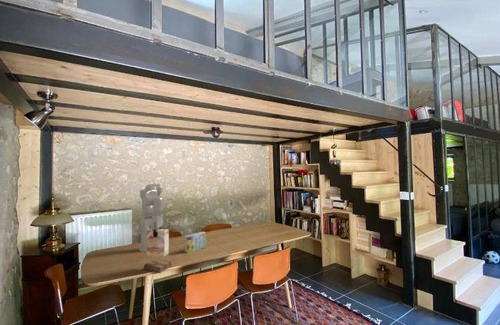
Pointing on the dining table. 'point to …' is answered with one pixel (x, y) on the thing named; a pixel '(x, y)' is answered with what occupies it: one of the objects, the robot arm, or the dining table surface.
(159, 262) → the block
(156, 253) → the coffeecake box
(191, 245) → the snack box
